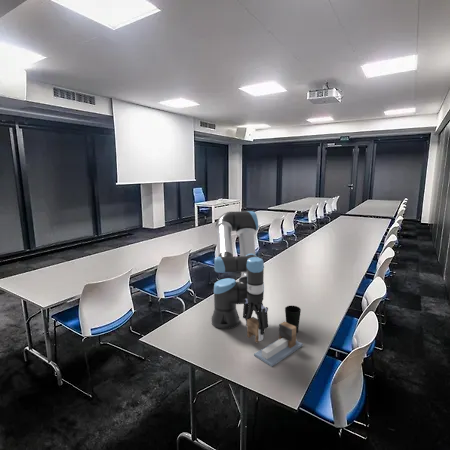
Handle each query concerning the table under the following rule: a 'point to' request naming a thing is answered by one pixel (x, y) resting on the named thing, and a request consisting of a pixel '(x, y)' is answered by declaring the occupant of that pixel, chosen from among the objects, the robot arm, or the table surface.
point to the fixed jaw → (288, 333)
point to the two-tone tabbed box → (252, 328)
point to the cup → (293, 316)
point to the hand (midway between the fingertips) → (255, 336)
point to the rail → (279, 355)
